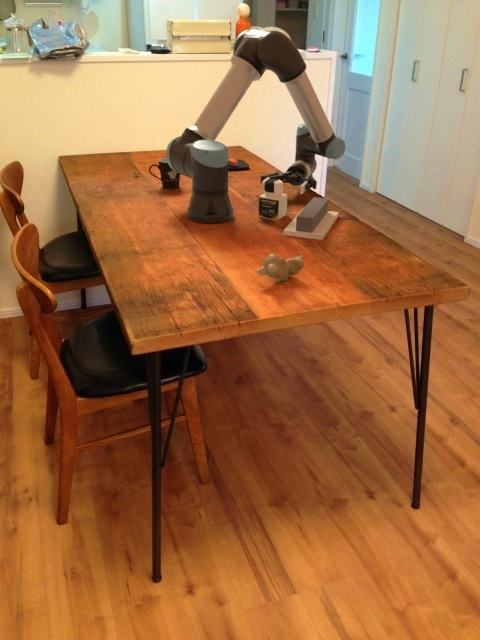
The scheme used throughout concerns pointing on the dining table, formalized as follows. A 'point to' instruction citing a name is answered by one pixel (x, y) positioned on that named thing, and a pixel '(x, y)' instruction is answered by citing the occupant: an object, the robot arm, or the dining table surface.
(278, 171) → the robot arm
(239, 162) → the sushi plate
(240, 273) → the dining table surface
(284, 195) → the medicine bottle
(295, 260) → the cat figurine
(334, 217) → the stand
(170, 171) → the coffee mug
